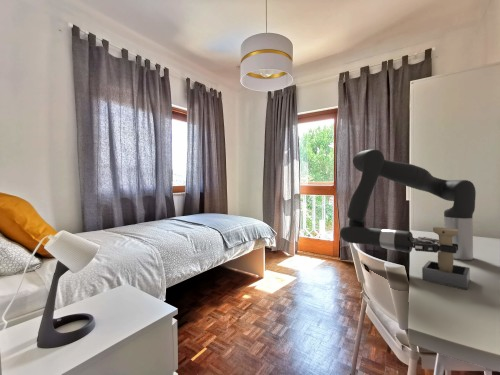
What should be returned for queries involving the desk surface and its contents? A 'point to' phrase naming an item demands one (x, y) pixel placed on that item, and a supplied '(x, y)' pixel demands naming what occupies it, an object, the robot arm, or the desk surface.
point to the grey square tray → (446, 275)
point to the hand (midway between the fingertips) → (456, 248)
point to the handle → (446, 239)
